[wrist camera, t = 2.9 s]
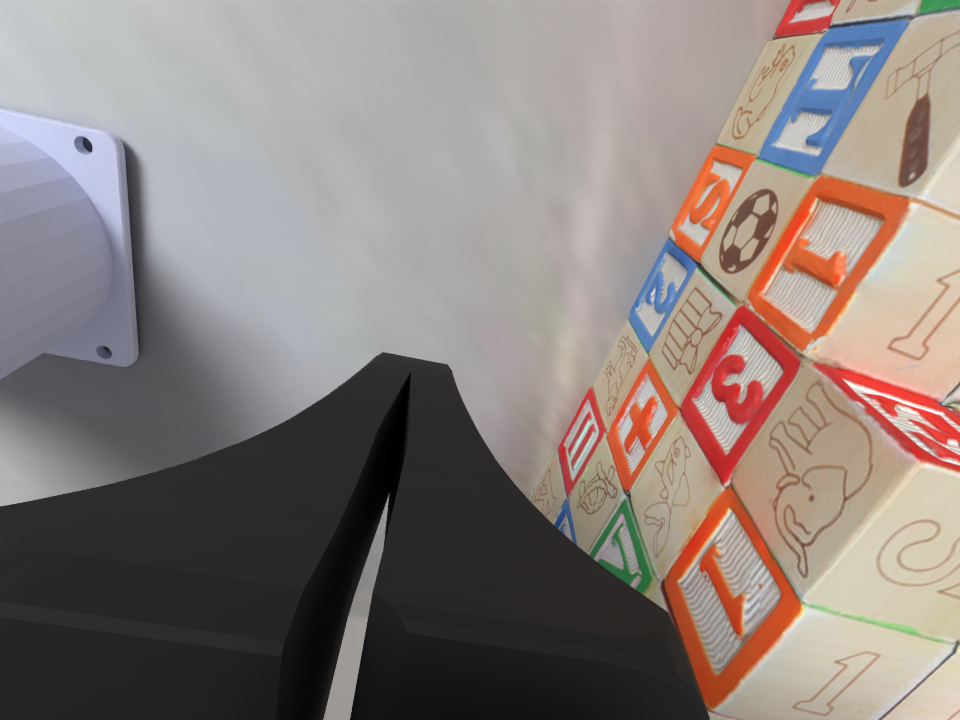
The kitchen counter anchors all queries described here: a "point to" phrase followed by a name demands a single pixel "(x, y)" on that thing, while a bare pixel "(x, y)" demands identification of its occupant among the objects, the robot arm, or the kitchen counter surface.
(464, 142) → the kitchen counter surface
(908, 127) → the stack of blocks
